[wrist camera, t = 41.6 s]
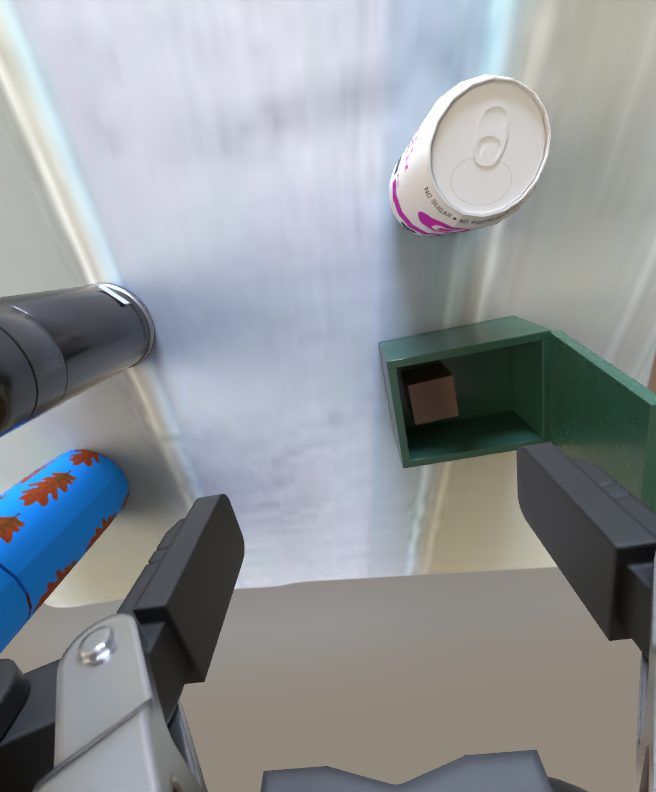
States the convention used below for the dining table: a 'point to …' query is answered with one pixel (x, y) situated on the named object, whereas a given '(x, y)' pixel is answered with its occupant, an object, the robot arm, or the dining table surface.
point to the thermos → (52, 529)
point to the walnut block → (430, 393)
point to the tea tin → (474, 389)
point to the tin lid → (602, 416)
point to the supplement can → (471, 158)
